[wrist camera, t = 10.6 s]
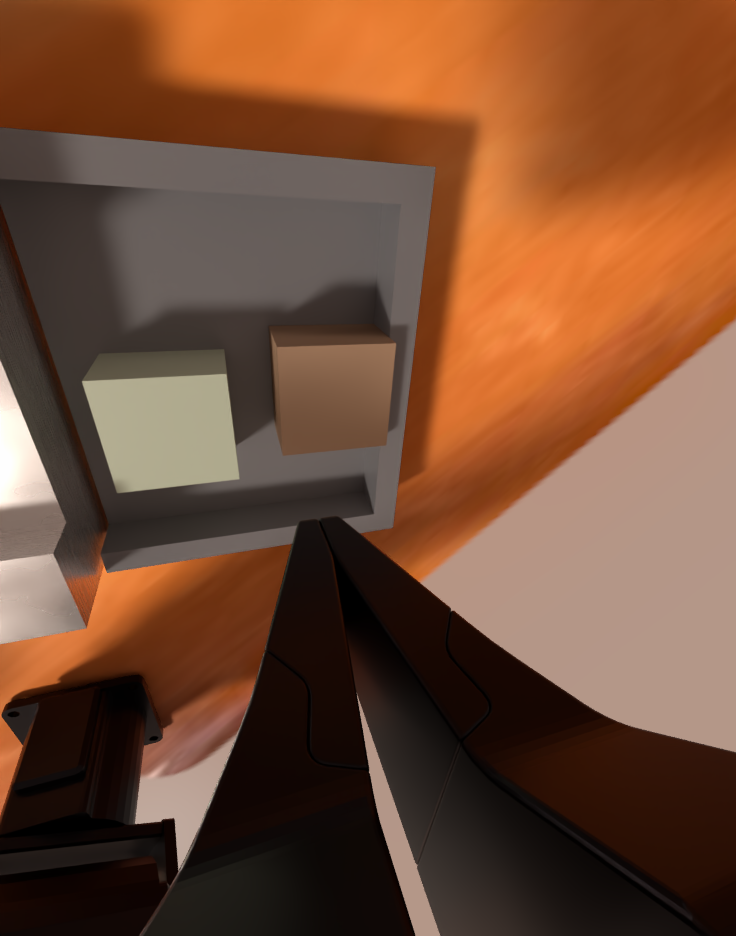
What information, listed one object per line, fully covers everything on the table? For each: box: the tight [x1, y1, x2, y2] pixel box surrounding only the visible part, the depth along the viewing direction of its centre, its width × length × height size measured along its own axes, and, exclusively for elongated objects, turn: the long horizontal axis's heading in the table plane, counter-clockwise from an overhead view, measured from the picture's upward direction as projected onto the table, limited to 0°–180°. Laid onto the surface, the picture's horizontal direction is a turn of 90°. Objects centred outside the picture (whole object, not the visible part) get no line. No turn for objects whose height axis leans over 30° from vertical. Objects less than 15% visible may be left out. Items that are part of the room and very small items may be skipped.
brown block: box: [269, 324, 396, 456], centre depth 16 cm, size 4×4×2 cm
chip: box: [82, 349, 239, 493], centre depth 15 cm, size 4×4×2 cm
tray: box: [0, 127, 436, 573], centre depth 16 cm, size 14×12×2 cm
